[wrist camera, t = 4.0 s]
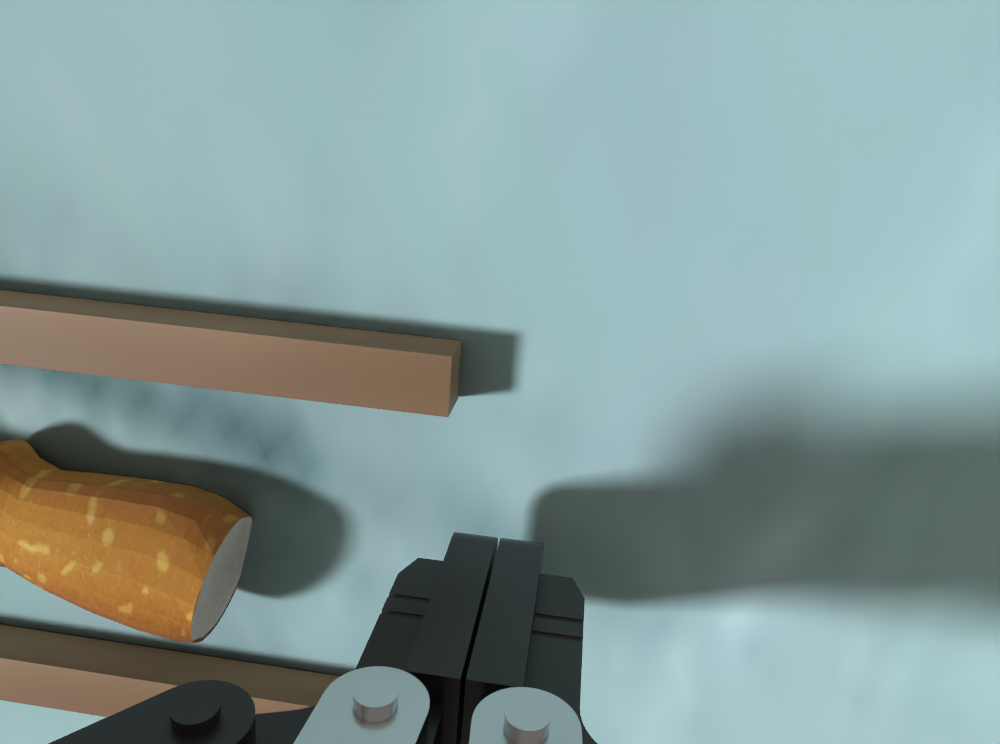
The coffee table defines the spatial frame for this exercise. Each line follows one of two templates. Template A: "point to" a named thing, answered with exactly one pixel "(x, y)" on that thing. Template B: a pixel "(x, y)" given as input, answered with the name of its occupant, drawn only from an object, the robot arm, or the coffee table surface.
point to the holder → (216, 365)
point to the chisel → (122, 544)
